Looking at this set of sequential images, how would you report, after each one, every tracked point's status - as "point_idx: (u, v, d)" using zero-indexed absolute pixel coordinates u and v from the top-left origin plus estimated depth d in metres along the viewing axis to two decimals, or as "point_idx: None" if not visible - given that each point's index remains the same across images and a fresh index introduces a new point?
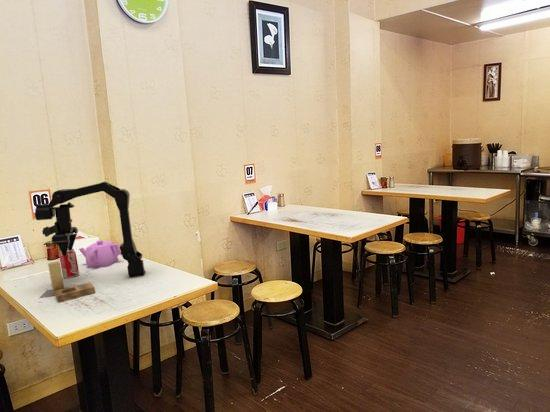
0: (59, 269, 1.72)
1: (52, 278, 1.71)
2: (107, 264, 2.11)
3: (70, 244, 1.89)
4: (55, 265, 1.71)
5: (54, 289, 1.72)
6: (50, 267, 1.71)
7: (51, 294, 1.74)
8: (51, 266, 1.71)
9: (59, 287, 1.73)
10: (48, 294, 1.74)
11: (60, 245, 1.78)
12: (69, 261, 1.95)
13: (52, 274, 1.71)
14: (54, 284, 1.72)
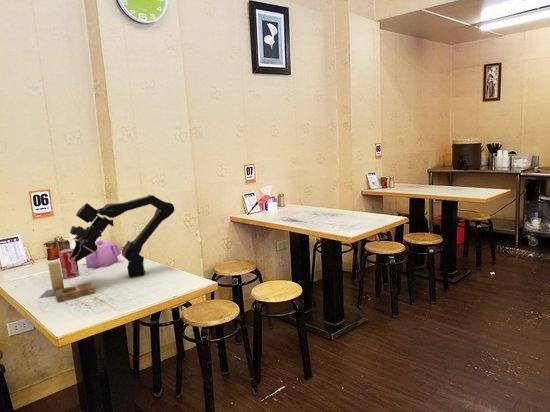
0: (59, 269, 1.72)
1: (52, 278, 1.71)
2: (107, 264, 2.11)
3: (76, 252, 1.82)
4: (55, 265, 1.71)
5: (54, 289, 1.72)
6: (50, 267, 1.71)
7: (51, 294, 1.74)
8: (51, 266, 1.71)
9: (59, 287, 1.73)
10: (48, 294, 1.74)
11: (81, 251, 1.73)
12: (69, 261, 1.95)
13: (52, 274, 1.71)
14: (54, 284, 1.72)
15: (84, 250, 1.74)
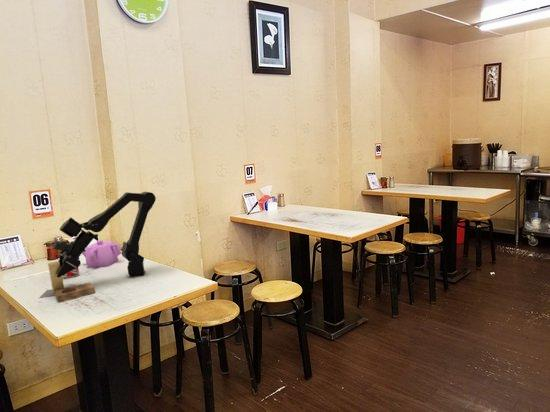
0: (59, 269, 1.72)
1: (52, 278, 1.71)
2: (107, 264, 2.11)
3: None
4: (55, 265, 1.71)
5: (54, 289, 1.72)
6: (50, 267, 1.71)
7: (51, 294, 1.74)
8: (51, 266, 1.71)
9: (59, 287, 1.73)
10: (48, 294, 1.74)
11: (64, 266, 1.70)
12: None
13: (52, 274, 1.71)
14: (54, 284, 1.72)
15: (67, 265, 1.71)
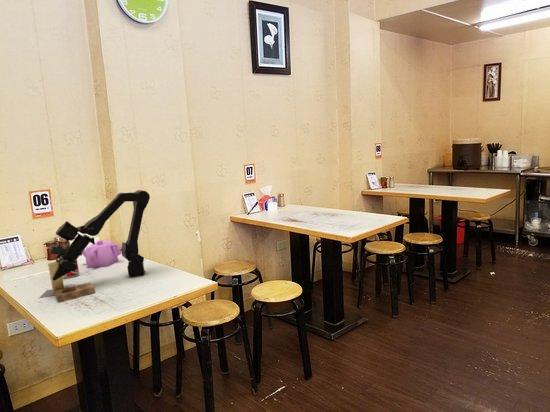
0: None
1: (52, 278, 1.71)
2: (107, 264, 2.11)
3: None
4: (55, 265, 1.71)
5: (54, 289, 1.72)
6: (50, 267, 1.71)
7: (51, 294, 1.74)
8: (51, 266, 1.71)
9: (59, 287, 1.73)
10: (48, 294, 1.74)
11: (60, 269, 1.71)
12: None
13: (52, 274, 1.71)
14: (54, 284, 1.72)
15: (63, 268, 1.72)
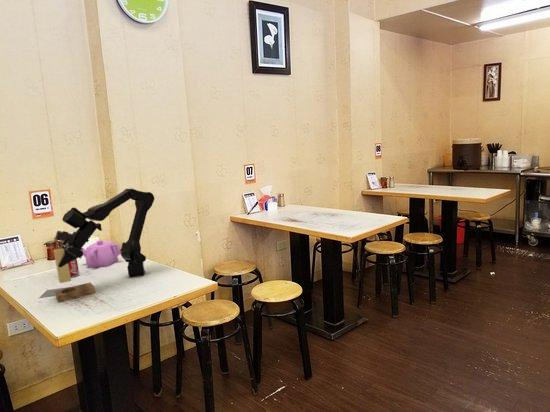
0: None
1: None
2: (107, 264, 2.11)
3: None
4: (61, 252, 1.66)
5: (60, 276, 1.67)
6: (56, 254, 1.65)
7: (51, 294, 1.74)
8: (57, 252, 1.66)
9: (65, 275, 1.68)
10: (48, 294, 1.74)
11: (66, 256, 1.66)
12: None
13: (58, 261, 1.66)
14: (60, 271, 1.67)
15: (69, 255, 1.67)
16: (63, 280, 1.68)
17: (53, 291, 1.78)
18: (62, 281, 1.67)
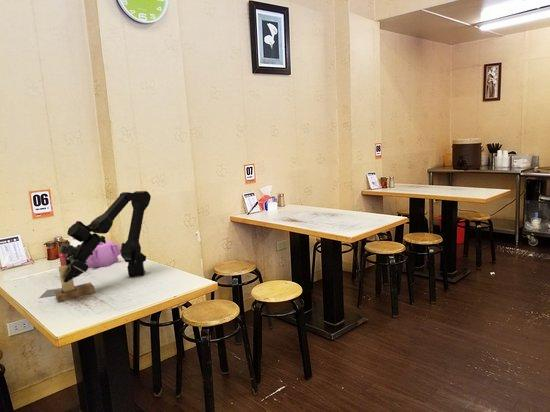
0: None
1: (63, 282, 1.66)
2: (107, 264, 2.11)
3: None
4: (66, 268, 1.66)
5: None
6: (61, 271, 1.65)
7: (51, 294, 1.74)
8: (62, 270, 1.65)
9: (70, 291, 1.68)
10: (48, 294, 1.74)
11: (71, 271, 1.64)
12: None
13: (63, 278, 1.66)
14: (65, 288, 1.67)
15: (74, 270, 1.64)
16: None
17: (53, 291, 1.78)
18: None
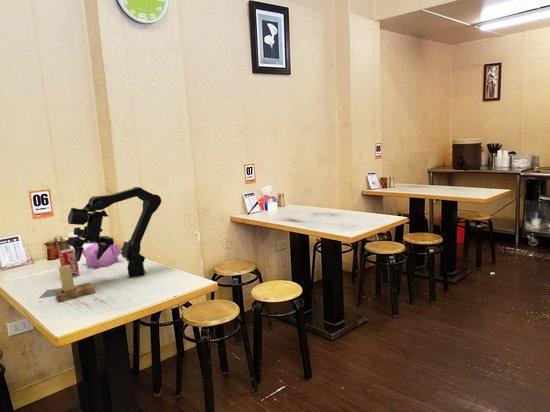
0: (70, 273, 1.67)
1: (63, 282, 1.66)
2: (107, 264, 2.11)
3: (99, 253, 1.84)
4: (66, 268, 1.66)
5: None
6: (61, 271, 1.65)
7: (51, 294, 1.74)
8: (62, 270, 1.65)
9: (70, 291, 1.68)
10: (48, 294, 1.74)
11: (75, 249, 1.75)
12: (69, 261, 1.95)
13: (63, 278, 1.66)
14: (65, 288, 1.67)
15: None
16: None
17: (53, 291, 1.78)
18: None
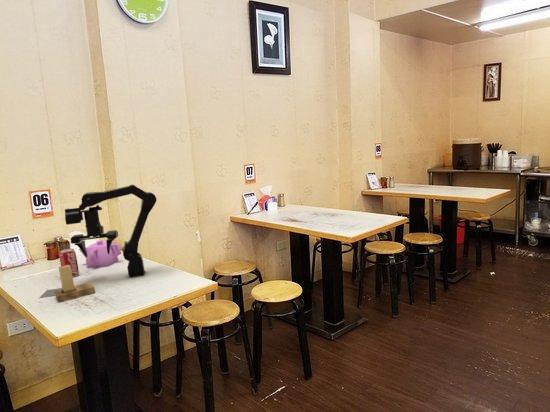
0: (70, 273, 1.67)
1: (63, 282, 1.66)
2: (107, 264, 2.11)
3: None
4: (66, 268, 1.66)
5: None
6: (61, 271, 1.65)
7: (51, 294, 1.74)
8: (62, 270, 1.65)
9: (70, 291, 1.68)
10: (48, 294, 1.74)
11: None
12: (69, 261, 1.95)
13: (63, 278, 1.66)
14: (65, 288, 1.67)
15: None
16: None
17: (53, 291, 1.78)
18: None
